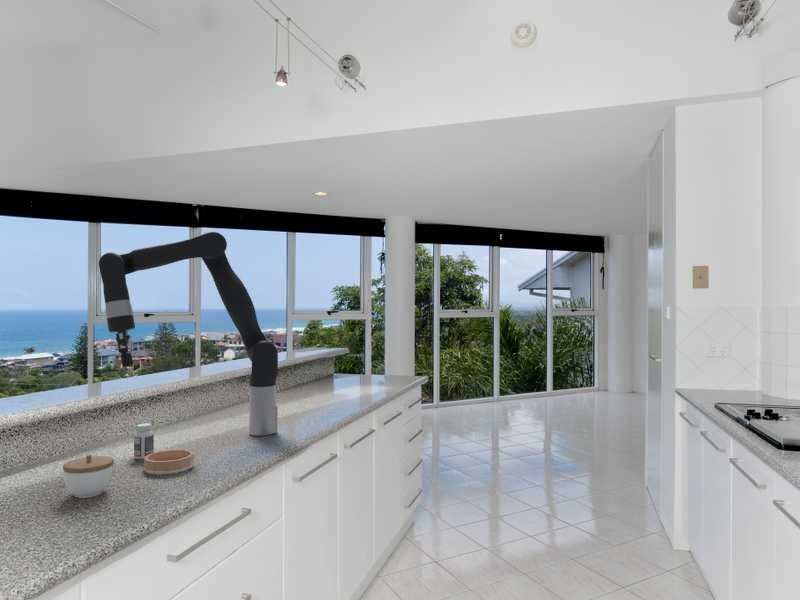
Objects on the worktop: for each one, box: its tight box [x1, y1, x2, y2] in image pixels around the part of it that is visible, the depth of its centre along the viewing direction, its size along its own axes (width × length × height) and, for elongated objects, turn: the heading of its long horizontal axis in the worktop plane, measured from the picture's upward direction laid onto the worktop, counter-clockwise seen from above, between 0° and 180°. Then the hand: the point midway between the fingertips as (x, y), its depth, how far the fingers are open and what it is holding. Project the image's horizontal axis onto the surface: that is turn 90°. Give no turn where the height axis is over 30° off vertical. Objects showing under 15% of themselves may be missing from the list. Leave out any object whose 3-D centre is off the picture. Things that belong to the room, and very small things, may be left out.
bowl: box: [143, 448, 195, 476], centre depth 153 cm, size 13×13×4 cm
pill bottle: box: [133, 422, 155, 460], centre depth 163 cm, size 5×5×10 cm
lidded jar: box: [62, 454, 115, 499], centre depth 132 cm, size 11×11×9 cm
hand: (128, 366), depth 170 cm, fingers open, 8 cm apart
